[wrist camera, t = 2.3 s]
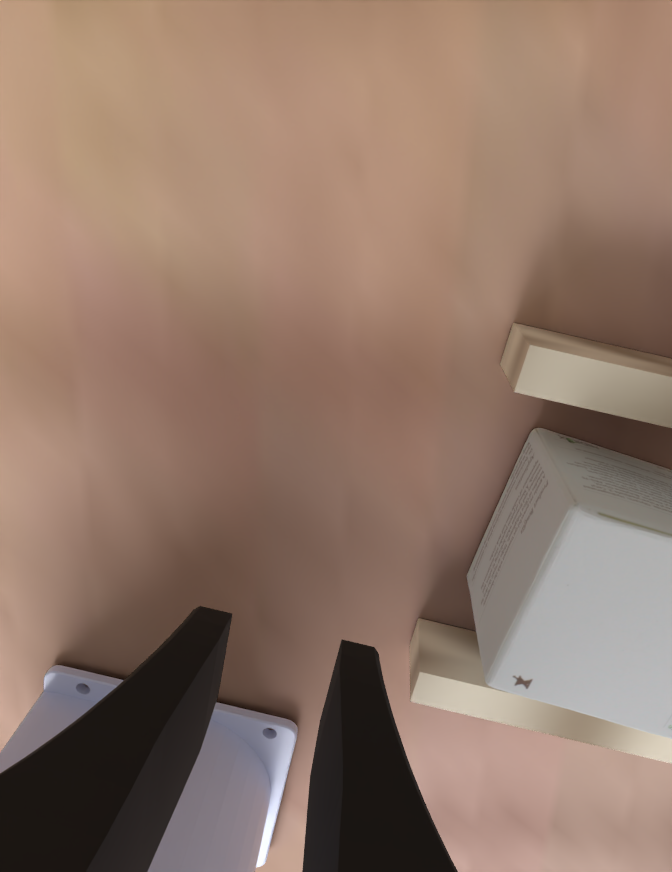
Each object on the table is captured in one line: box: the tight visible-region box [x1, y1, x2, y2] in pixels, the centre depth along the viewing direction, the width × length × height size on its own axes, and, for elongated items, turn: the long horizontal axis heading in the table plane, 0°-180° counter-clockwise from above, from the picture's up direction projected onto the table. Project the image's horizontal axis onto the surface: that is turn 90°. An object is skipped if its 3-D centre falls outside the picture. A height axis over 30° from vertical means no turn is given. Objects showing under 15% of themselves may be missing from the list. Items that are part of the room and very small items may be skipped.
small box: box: [467, 428, 672, 739], centre depth 17 cm, size 6×6×5 cm
